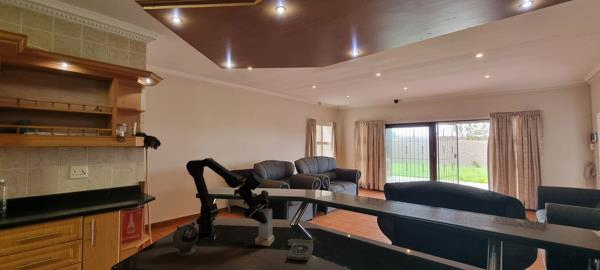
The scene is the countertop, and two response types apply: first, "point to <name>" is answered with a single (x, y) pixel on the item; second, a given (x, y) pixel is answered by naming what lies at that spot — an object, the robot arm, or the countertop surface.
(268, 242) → the stand
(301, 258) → the graphics card
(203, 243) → the countertop surface
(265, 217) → the housing
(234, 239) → the countertop surface
